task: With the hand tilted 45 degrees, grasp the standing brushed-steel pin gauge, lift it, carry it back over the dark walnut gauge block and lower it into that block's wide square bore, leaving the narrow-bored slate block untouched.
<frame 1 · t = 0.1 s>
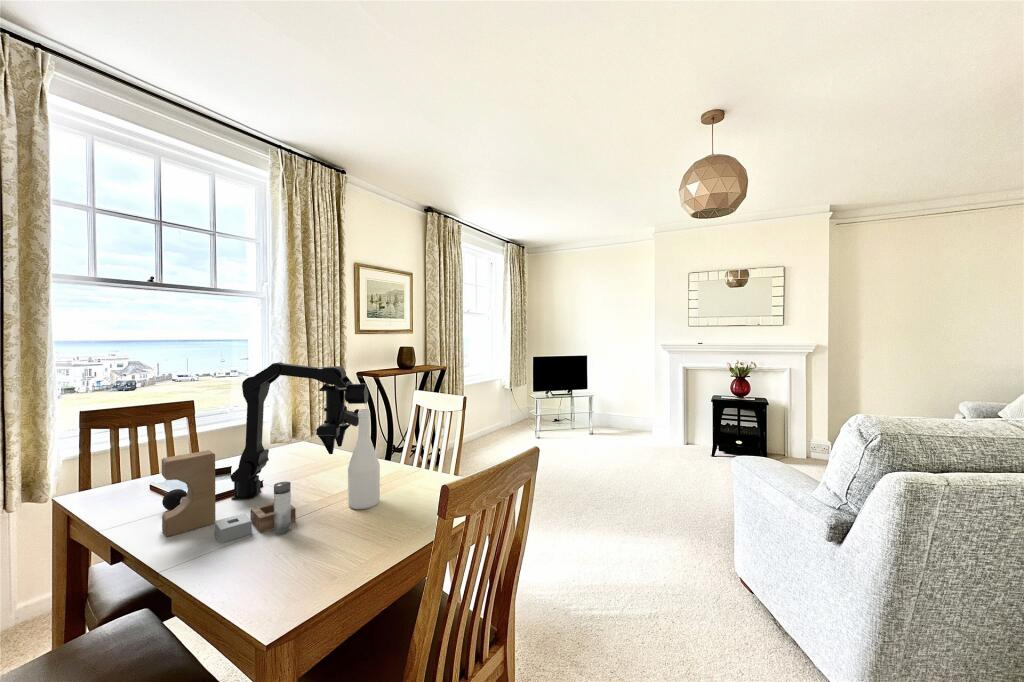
hand: (335, 450, 140), 15 cm above the table, tool pointing down, fingers open, 9 cm apart
billiard ball: (175, 510, 127), on the table
pin gauge: (282, 531, 113), on the table
wine bottle: (364, 504, 132), on the table
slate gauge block: (233, 533, 112), on the table
decorative block: (189, 528, 115), on the table
walnut gauge block: (273, 522, 119), on the table
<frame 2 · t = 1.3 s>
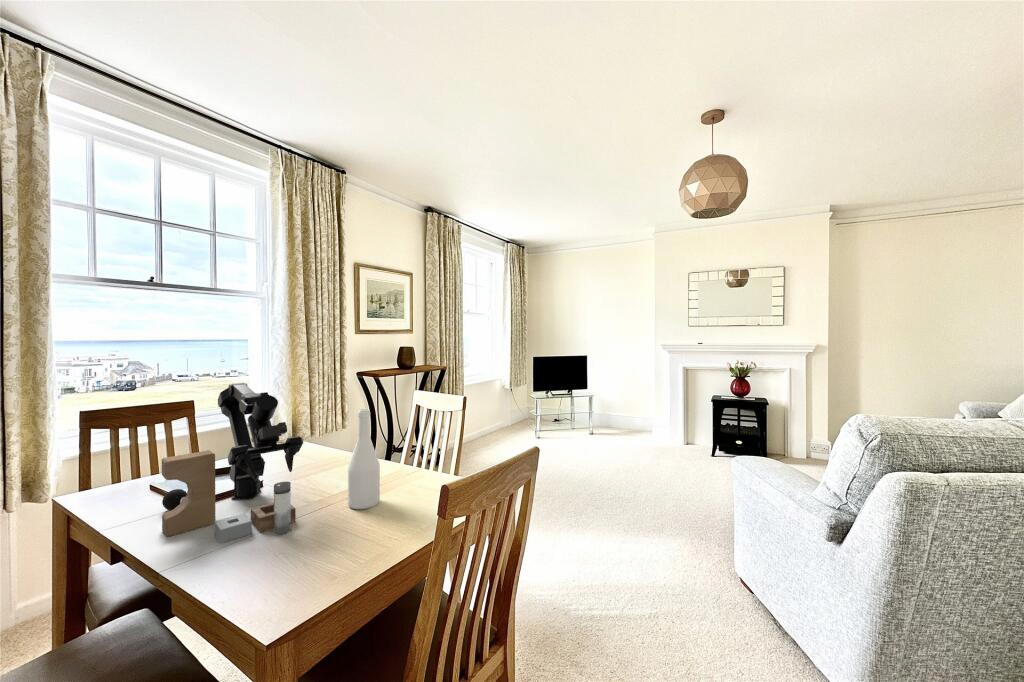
hand: (273, 475, 119), 13 cm above the table, tool tilted 45°, fingers open, 9 cm apart
nothing on the table moved.
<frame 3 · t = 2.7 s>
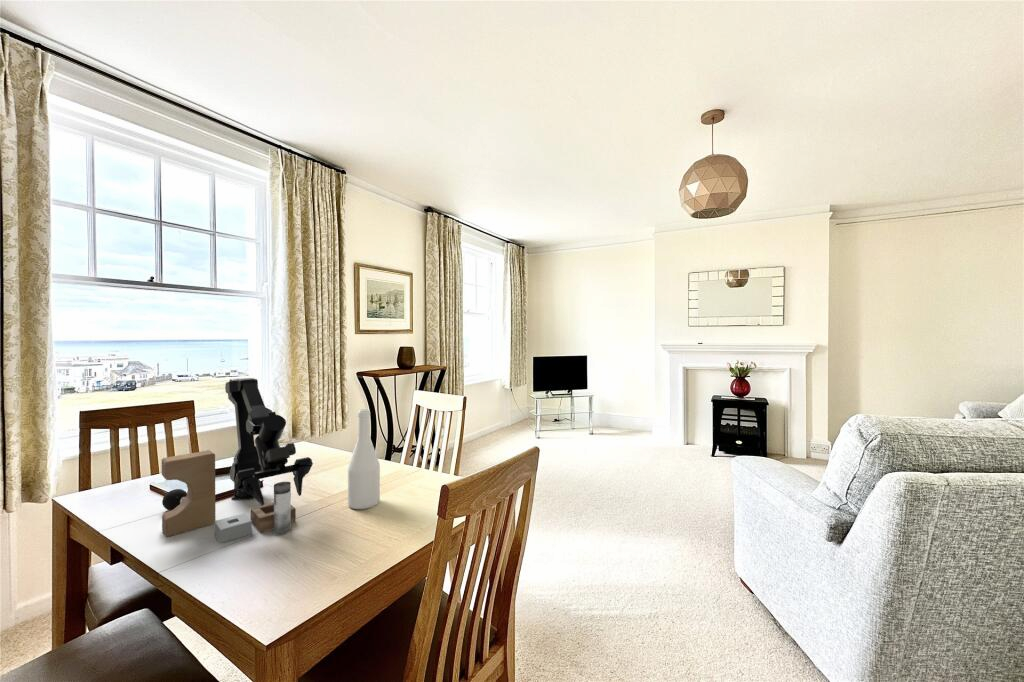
hand: (282, 499, 113), 9 cm above the table, tool tilted 45°, fingers open, 9 cm apart
nothing on the table moved.
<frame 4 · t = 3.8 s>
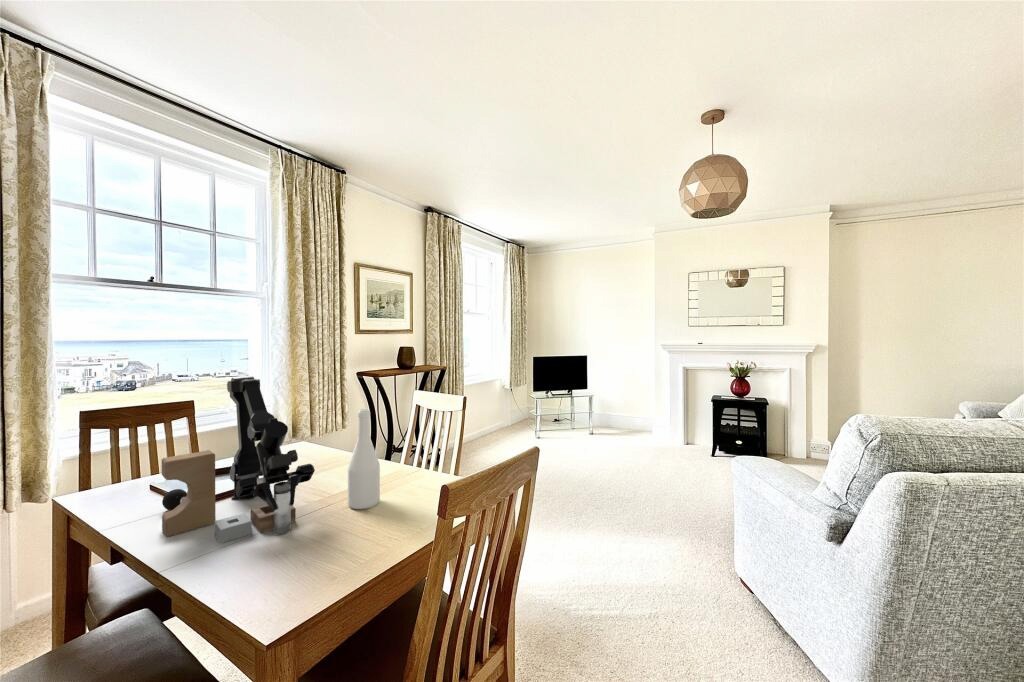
hand: (284, 507, 112), 7 cm above the table, tool tilted 45°, fingers closed on pin gauge, 4 cm apart
pin gauge: (282, 531, 113), on the table, touching gripper
everything else where it was.
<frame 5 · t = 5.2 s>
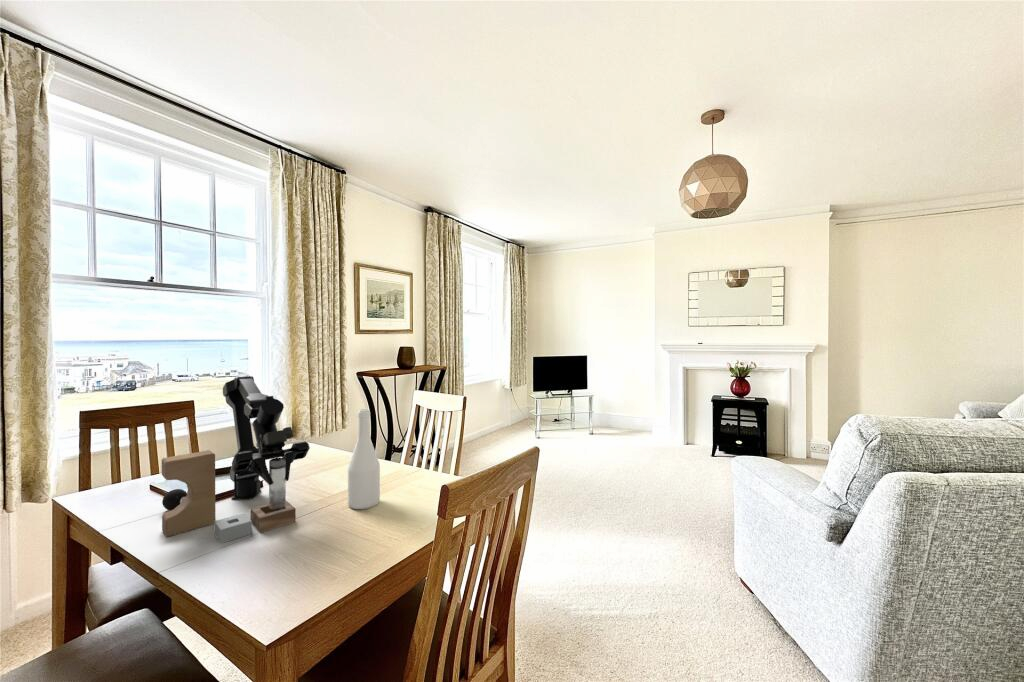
hand: (279, 482, 115), 13 cm above the table, tool tilted 45°, fingers closed on pin gauge, 4 cm apart
pin gauge: (277, 505, 116), point 6 cm above the table, touching gripper
everything else where it was.
when the fingers open (8 cm above the table, at t = 7.0 s): pin gauge stays where it is, resting on walnut gauge block.
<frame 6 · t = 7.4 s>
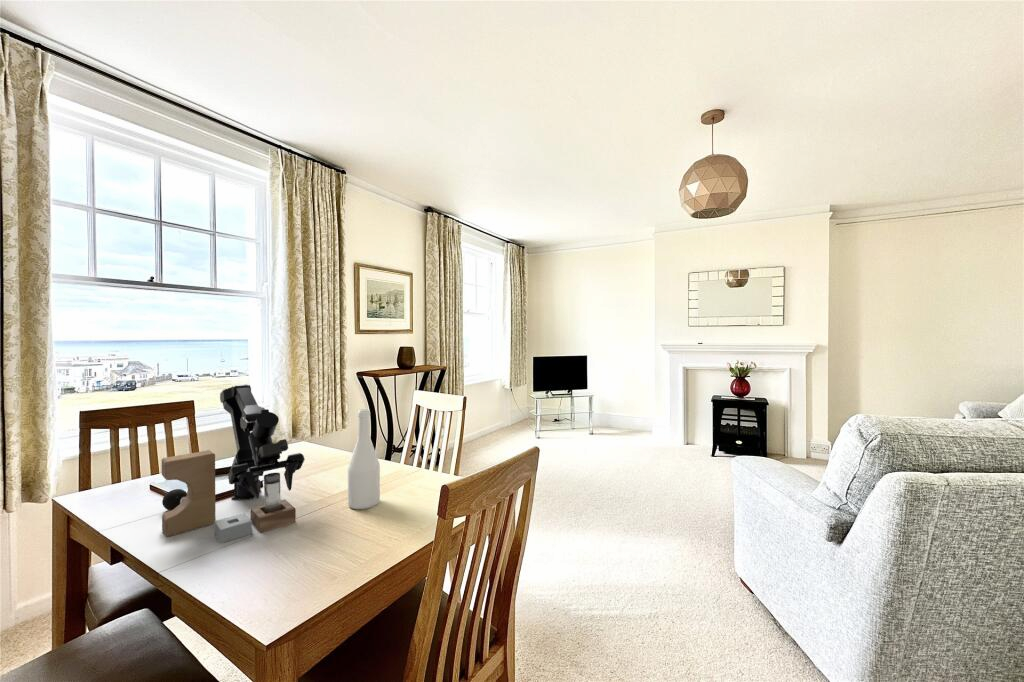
hand: (274, 493, 118), 9 cm above the table, tool tilted 45°, fingers open, 8 cm apart
pin gauge: (272, 520, 119), point 1 cm above the table, touching walnut gauge block
everything else where it was.
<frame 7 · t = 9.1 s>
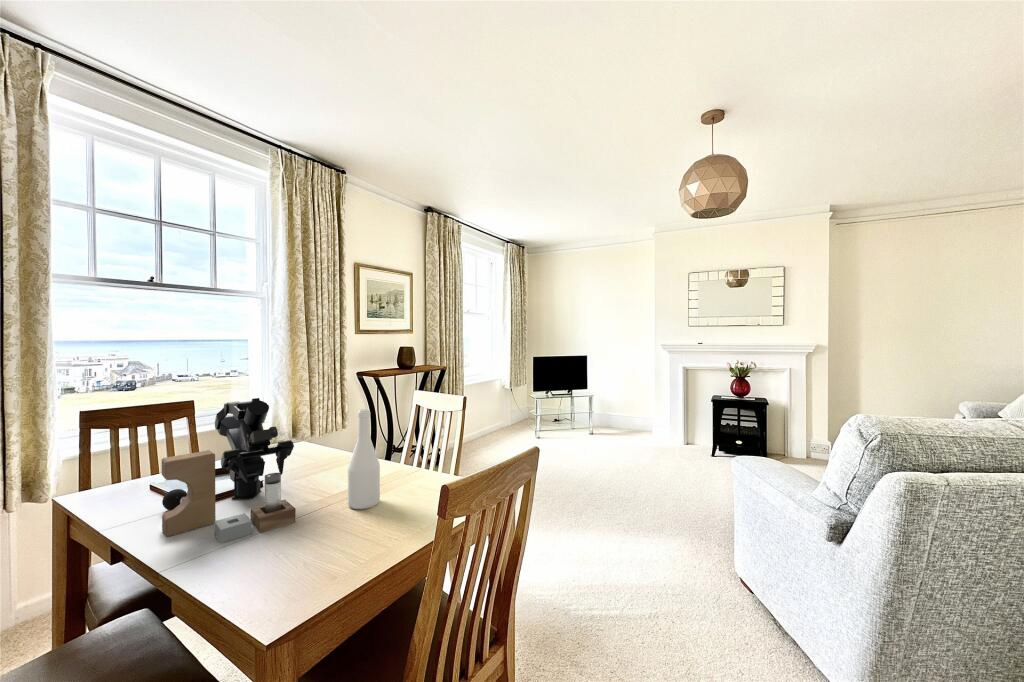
hand: (264, 477, 124), 11 cm above the table, tool tilted 45°, fingers open, 9 cm apart
nothing on the table moved.
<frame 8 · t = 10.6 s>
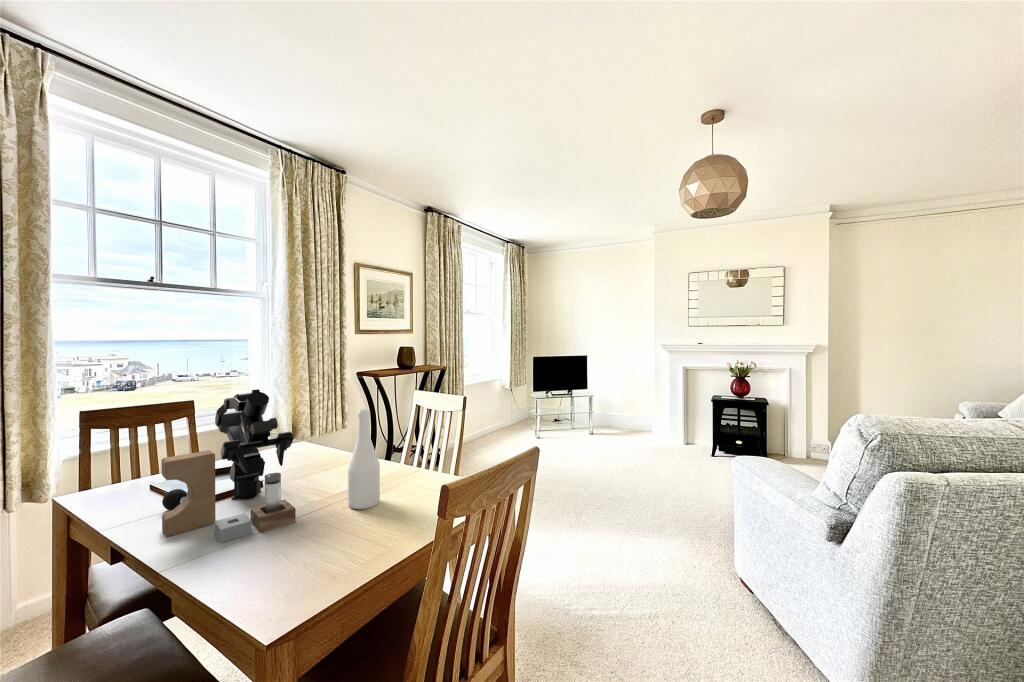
hand: (264, 468, 124), 14 cm above the table, tool tilted 45°, fingers open, 9 cm apart
nothing on the table moved.
at the end: pin gauge 0.1 cm off-centre on the walnut gauge block, point 0.5 cm above the walnut gauge block's base; pin gauge tilted 0°; the gripper is holding nothing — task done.
